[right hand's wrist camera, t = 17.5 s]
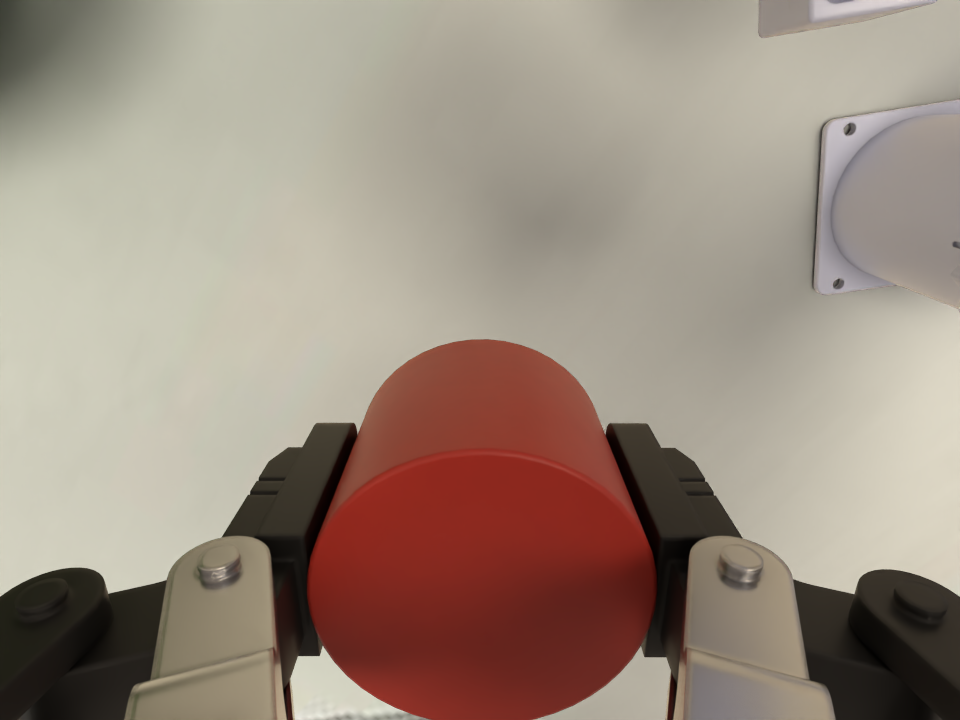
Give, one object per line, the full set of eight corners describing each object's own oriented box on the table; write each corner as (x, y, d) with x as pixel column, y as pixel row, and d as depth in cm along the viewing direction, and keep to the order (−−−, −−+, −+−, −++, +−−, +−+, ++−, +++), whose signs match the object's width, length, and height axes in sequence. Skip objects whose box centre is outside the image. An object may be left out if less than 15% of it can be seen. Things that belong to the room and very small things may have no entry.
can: (364, 543, 13) (314, 722, 9) (357, 331, 11) (294, 442, 8) (586, 552, 13) (632, 733, 9) (616, 344, 12) (688, 459, 8)
